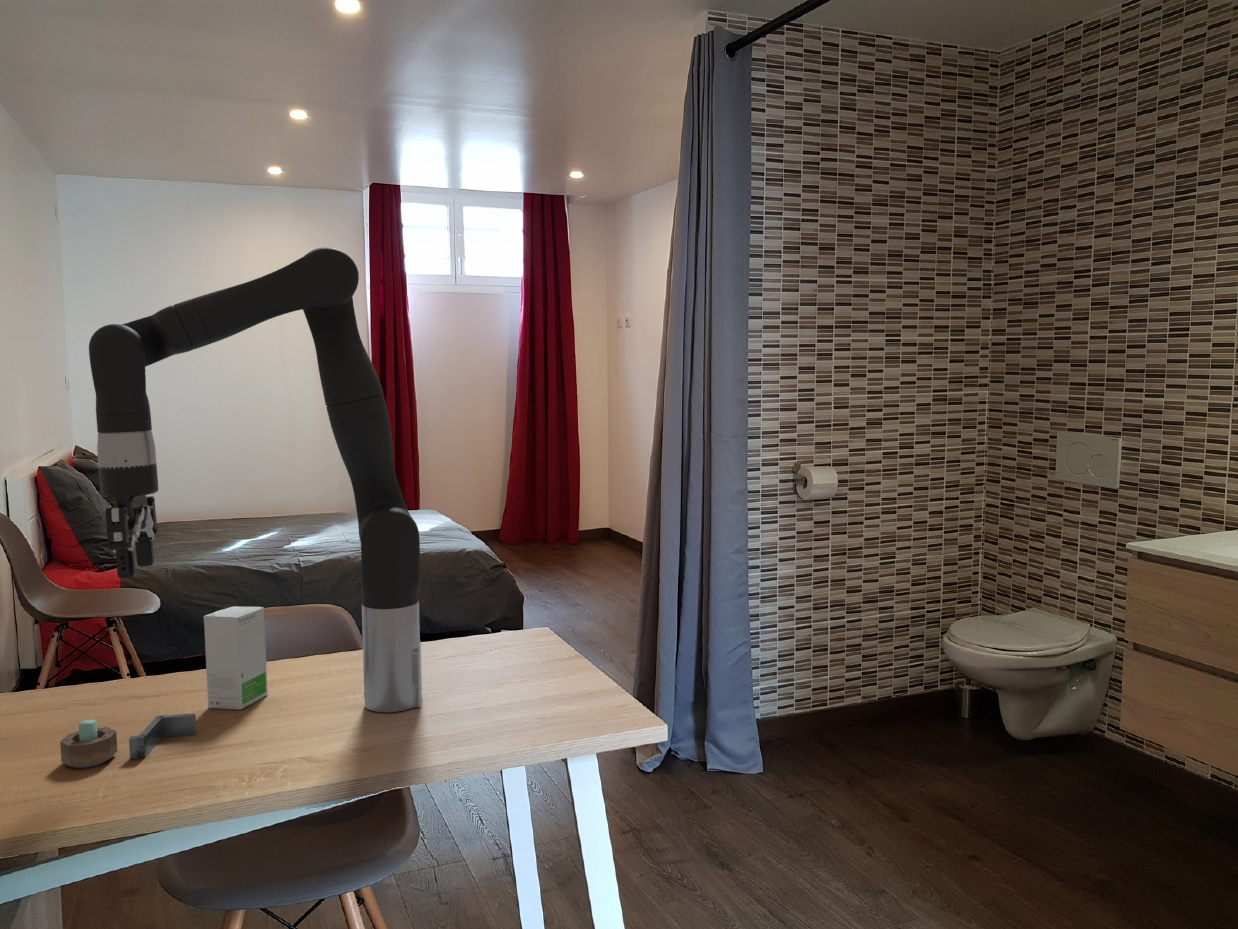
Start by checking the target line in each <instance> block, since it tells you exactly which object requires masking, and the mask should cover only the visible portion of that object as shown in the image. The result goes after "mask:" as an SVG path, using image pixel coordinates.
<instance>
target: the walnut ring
mask: <svg viewBox="0 0 1238 929" xmlns="http://www.w3.org/2000/svg"><path fill="white" fill-rule="evenodd" d="M117 736H118V735H117V730H114V729H113V728H110V727H109V726H108V727H107V726H105V727H97V738H98V739H95V740H91V741H83V742H80V739H79V730H78V731H74V732H71V733H68V734H67V735H65V736H64V737H63V738H62V739H60V741H59V743H60V744H59V745H60V761H61V763H62V764H64V765H66V766H69V767H71V766H84V765H93V764H96V763H99V762H102V761H105V760H107V761H109V760H111V759H112V758H113V757H114V755H115V754H116V753H118V740H117V738H118V737H117Z"/></svg>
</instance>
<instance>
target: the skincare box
mask: <svg viewBox="0 0 1238 929" xmlns="http://www.w3.org/2000/svg"><path fill="white" fill-rule="evenodd" d="M264 610H265V607H263V606H235V605H234V606H230V607H227V608H224V609H220V610H216V611H215V612H211V613H209V614H206V615H204V616H203V624H204V626H203V627H204V642H205V643H204V647H205V666H206V687H207V688H206V689H207V691H206V692H207V707H208V708H210V709H219V710H221V709H222V710H232V711H233V710H238V711H239V710H240V711H241V710H242V709H245V708H247V707H248V706H250V705H252V704H253V703H255V702H257V701H259V700H261V699H262V698H264V697H267V696H268V675H267V674H268V672H267V654H266V653H267V652H266V651H267V650H266V633H265V632H266V630H265V611H264Z"/></svg>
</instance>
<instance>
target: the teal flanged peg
mask: <svg viewBox="0 0 1238 929" xmlns="http://www.w3.org/2000/svg"><path fill="white" fill-rule="evenodd" d="M97 725H98V724H97V720H96V719H86V720H81V721H79V722H78V731H79V739H80V742H83V741H91V740H95V739H98V738H97V728H98V726H97ZM107 761H108V760H105V761H102V762H99V763H96V764H93V765H84V766H70V767H71V768H74V769H84V768H85V769H86V768H91V767H95V766H99V765H102V764H103V763H105V762H107Z"/></svg>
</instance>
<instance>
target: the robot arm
mask: <svg viewBox="0 0 1238 929" xmlns="http://www.w3.org/2000/svg"><path fill="white" fill-rule="evenodd" d="M359 277H360V276H359V270H358V267H357V265H356V263H355V261H354V260H353V258H352V257H351V256H349V254H347V253H346V252H344V251H342V250H340V249H337V248H334V247H325V246H324V247H318V248H315V249H312V250H311V251H308V252H307V253H306V254H305V255H304V256H302V257H300V258H298V259H296V260H294V261H293V262H291V263H289V264H286V265H285V266H283V267H281V268H279V269H276V270H275V271H274V270H273V271H272V272H271V273H267V274H265V275H262V276H259V277H257V278H255V279H251V280H248V281H246V282H243V283H240V284H236V285H233V286H230V287H226V288H223V289H220V290H216V291H213V292H209V293H206V294H203V295H200V296H196V297H193V298H191V299H187V300H184V301H181V302H177V303H175V304H173V305H170V306H167V307H164V308H162V309H159V310H158V311H156V312H155V313H153V314H152V315H147V316H145V317H141V318H138V319H136V320H135V319H134V320H132V321H129V322H125V323H121V324H119V323H112V324H106V325H103V326H101V327H99V328H98V329H97V330H96V331H94V332H93V334H92V336H91V337H90V339H89V343H88V354H89V362H90V370H91V376H92V382H93V387H94V391H95V392H94V393H95V414H96V415H95V417H96V418H95V419H96V430H97V442H96V444H97V445H96V450H97V451H96V452H97V454H96V455H97V466H98V476H99V487H100V488H99V489H100V495H101V496H102V497H105V498H113V499H114V507H106V508H105V513H104V514H105V524H106V536H107V538H106V539H107V540H106V541H107V542H106V543H107V550H108V551H112V552H113V553H115V560H116V563H115V564H116V572H117V577H118V578H119V579H128V578H133V577H135V575H136V574H137V573H136V565H137V566H138V567H150V566H153V565H154V563H155V561H154V560H155V555H154V545H153V544H154V542H153V540H155V535H157V534H158V531H159V529H158V522H157V513H156V503H155V502H156V500H155V497H154V496H153V494H156V493H157V492H158V491H159V478H158V464H157V454H156V452H157V451H156V444H155V443H156V442H155V439H154V435H153V427H152V417H151V416H152V415H151V413H152V412H151V406H150V400H149V397H148V395H147V394H148V393H147V380H146V379H147V378H146V377H147V376H146V367H148V366H151V365H153V364H155V363H158V362H161V361H163V360H166V359H167V358H169V357H172V356H176V355H179V354H183V353H187V352H191V351H194V350H197V349H200V348H202V347H206V346H208V345H211V344H215V343H217V342H220V341H223V340H224V339H227V338H230V337H232V336H235V335H237V334H239V333H241V332H244V331H245V330H248V329H250V328H252V327H254V326H257V325H259V324H261V323H264V322H266V321H268V320H272V319H274V318H276V317H279V316H283V315H285V314H289V313H293V312H296V311H303V313H304V316H305V319H306V322H307V324H308V328H309V331H310V333H311V337H312V339H313V344H314V348H315V354H316V360H317V368H318V373H319V379H320V384H321V389H322V393H323V398H324V404H325V406H326V411H327V416H328V420H329V423H330V427H331V430H332V434H333V437H334V440H335V443H336V445H337V448H338V451H339V454H340V457H341V459H342V461H343V464H344V466H345V468H346V471H347V474H348V477H349V478H350V483H351V486H352V490H353V496H354V502H355V507H356V509H355V510H356V514H357V516H356V517H357V525H358V536H359V541H360V550H361V551H360V556H361V557H360V558H361V589H360V594H361V623H362V626H361V628H362V660H363V665H362V666H363V685H364V686H363V697H364V707H365V709H367V710H369V711H371V712H372V711H373V712H375V713H376V712H377V713H396V712H403V711H407V710H410V709H414V708H415V709H417V708H421V705H422V697H423V681H422V651H421V650H422V643H421V640H420V637H421V634H420V633H421V632H420V586H421V547H420V546H421V542H420V531H419V527H418V525H417V523H416V521H415V520H414V518H413V517H412V516H411V514H410V512H409V510H408V507H407V505H406V502H405V499H404V496H403V493H402V490H401V488H400V485H399V482H398V477H397V475H396V470H395V462H394V458H395V457H394V447H393V446H394V445H393V443H394V442H393V436H392V434H393V433H392V429H391V428H392V427H391V426H392V425H391V421H390V416H389V412H388V407H387V402H386V400H385V395H384V391H383V388H382V384H381V382H380V379H379V376H378V374H377V371H376V368H375V367H374V365H373V363H372V360H371V358H370V357H369V354H368V352H367V350H366V347H365V346H364V343H363V341H362V337H361V335H360V332H359V328H358V324H357V323H358V322H357V319H356V318H357V317H356V313H355V306H354V299H353V296H354V295H355V292H356V291H357V289H358V285H359V279H360V278H359ZM149 495H152V496H149ZM134 549H135V551H134ZM135 554H136V555H135ZM135 556H136V560H135ZM135 561H136V562H135ZM136 563H137V564H136Z"/></svg>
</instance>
